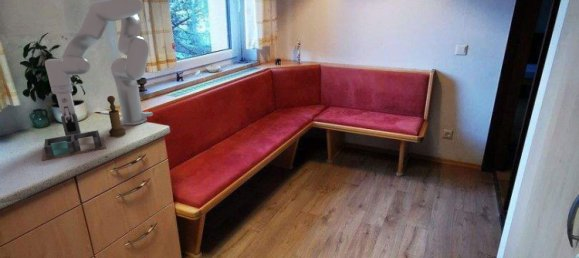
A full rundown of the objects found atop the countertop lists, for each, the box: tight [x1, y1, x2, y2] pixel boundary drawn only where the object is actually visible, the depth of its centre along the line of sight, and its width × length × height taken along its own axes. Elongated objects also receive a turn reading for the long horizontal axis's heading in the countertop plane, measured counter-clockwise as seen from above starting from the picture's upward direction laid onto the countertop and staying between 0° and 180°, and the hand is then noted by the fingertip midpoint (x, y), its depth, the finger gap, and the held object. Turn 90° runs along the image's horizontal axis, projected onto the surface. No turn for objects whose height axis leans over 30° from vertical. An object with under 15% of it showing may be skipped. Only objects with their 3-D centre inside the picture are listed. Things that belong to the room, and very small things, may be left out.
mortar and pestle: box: [106, 95, 127, 138], centre depth 153 cm, size 7×6×18 cm
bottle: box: [59, 107, 82, 136], centre depth 150 cm, size 6×6×15 cm
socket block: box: [41, 130, 107, 162], centre depth 140 cm, size 22×14×6 cm, turn 122°
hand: (71, 128), depth 151 cm, fingers closed on bottle, 5 cm apart
